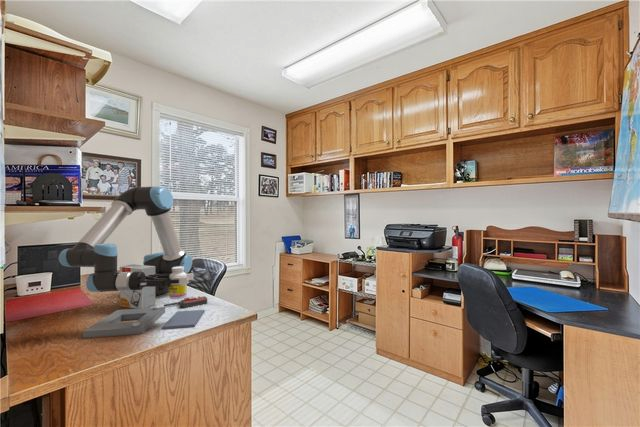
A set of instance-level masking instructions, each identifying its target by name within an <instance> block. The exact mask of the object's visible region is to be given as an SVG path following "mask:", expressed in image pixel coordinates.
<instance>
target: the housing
mask: <svg viewBox="0 0 640 427" xmlns="http://www.w3.org/2000/svg"><path fill="white" fill-rule="evenodd" d="M165 313H166V306H165V307H164V306H162V307H161V306H160V305H154V306H152V307H149V308H141V309H135V308H127V309H126V308H125V309H117V310H115V311H113V312H112V313H110V314H108V315H107V316H105V317H104V318H102V319H101V320H99V321H97V322H96V323H94V324H93V325H91V326H89V327H88V328H86V329H85V330H83V331H82V339H88V338H89V339H90V338H102V337H114V336H115V337H118V336H128V335H142V334H144V333H146V332H147V331H148V329H149V328H150V327H151V326H152V325H153V324H155V322H157V321H158V320H159V318H161V317H162V316H163V315H164V314H165ZM129 320H130V321H129ZM131 320H132V321H131ZM133 320H136V321H133ZM124 321H125V322H124Z"/></svg>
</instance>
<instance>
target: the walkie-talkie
mask: <svg viewBox="0 0 640 427" xmlns="http://www.w3.org/2000/svg"><path fill="white" fill-rule="evenodd" d="M203 304H204V305H208V297H207V296H200V295H198V296H197V297H196V296H194V295H193V296H186V297H184V298H183V299H181V300H180V301H178V302H171V303H166V304H163V307H165V308H166V307H168V306H175V305H179V306H180V308H183V309H188V307H189V308H193V306H194V307H198V305H199V306H202V305H203ZM204 305H203V306H204Z"/></svg>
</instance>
